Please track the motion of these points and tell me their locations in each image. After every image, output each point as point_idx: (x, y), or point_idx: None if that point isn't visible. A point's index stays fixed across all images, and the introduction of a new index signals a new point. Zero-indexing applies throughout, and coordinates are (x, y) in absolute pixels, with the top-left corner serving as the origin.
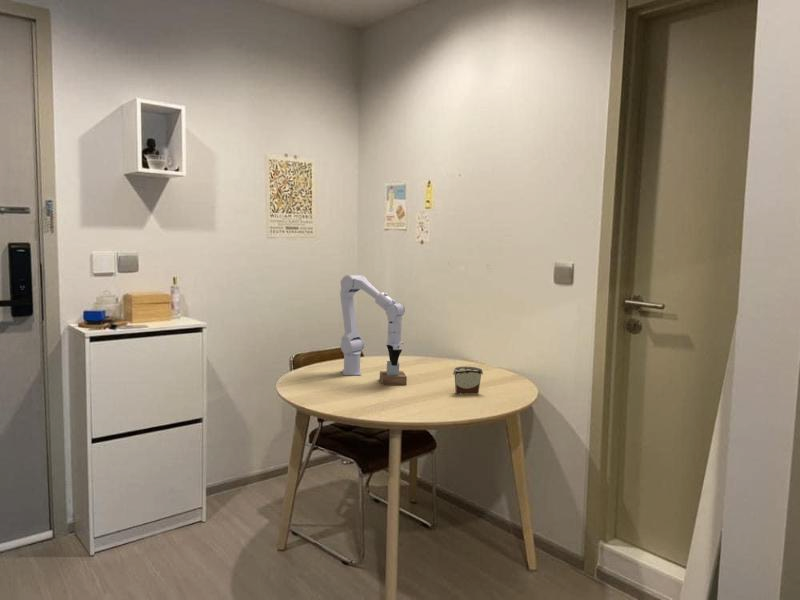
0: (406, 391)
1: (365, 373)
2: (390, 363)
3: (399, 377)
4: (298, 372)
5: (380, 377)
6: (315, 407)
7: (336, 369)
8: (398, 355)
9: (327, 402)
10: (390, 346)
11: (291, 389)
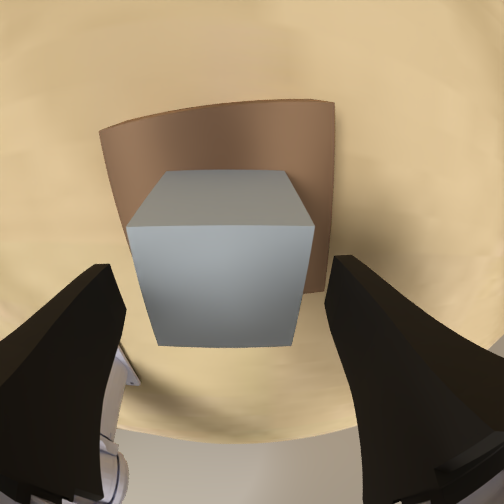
0: (448, 141)
1: None
2: (291, 323)
3: (331, 169)
4: (153, 432)
5: None
6: None
7: None
8: (461, 351)
9: None
10: (76, 484)
11: (321, 430)
